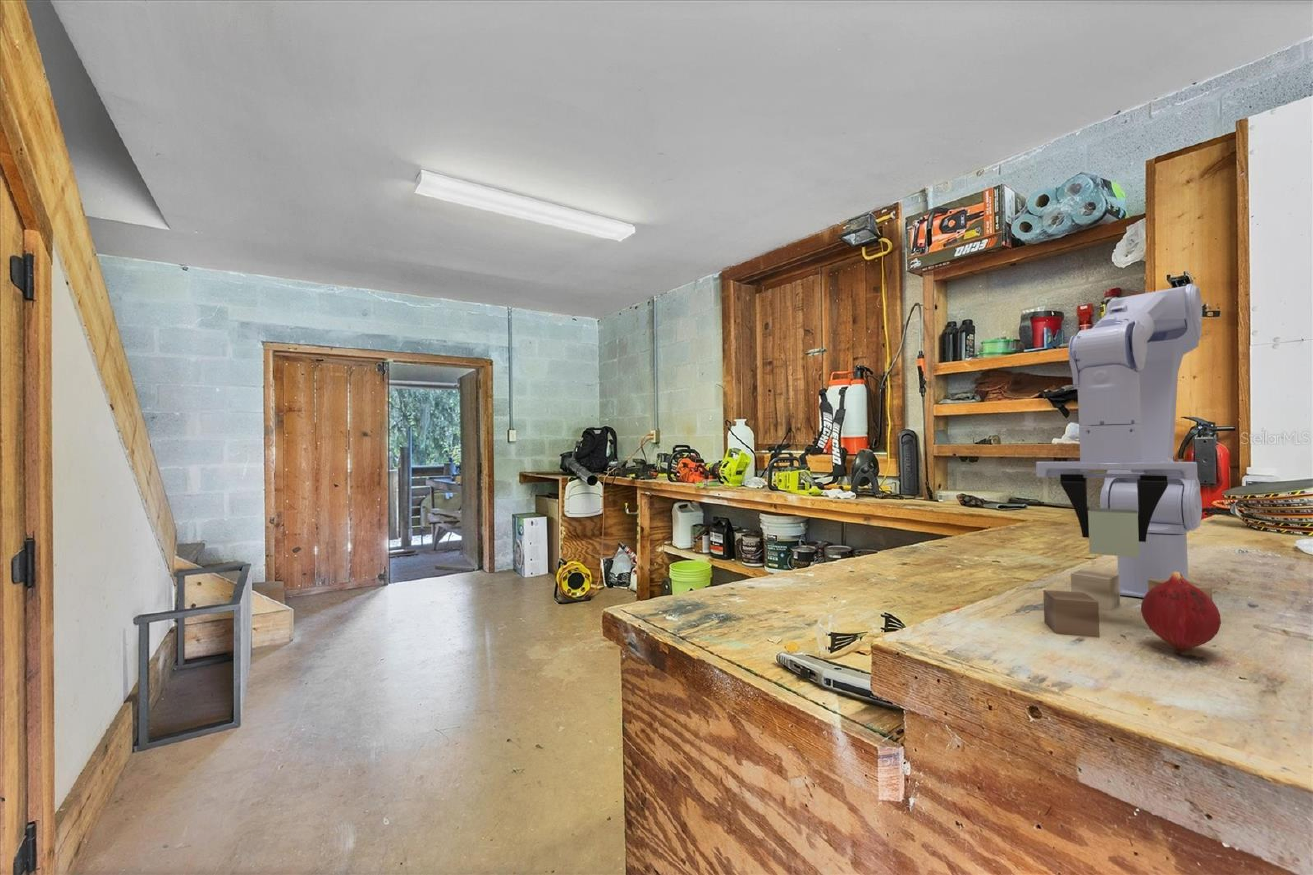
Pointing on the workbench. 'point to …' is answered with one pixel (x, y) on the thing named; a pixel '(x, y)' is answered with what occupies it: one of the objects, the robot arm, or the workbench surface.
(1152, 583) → the oak block
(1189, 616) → the onion
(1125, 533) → the sage block
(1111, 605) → the maple block
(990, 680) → the workbench surface
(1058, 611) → the walnut block
